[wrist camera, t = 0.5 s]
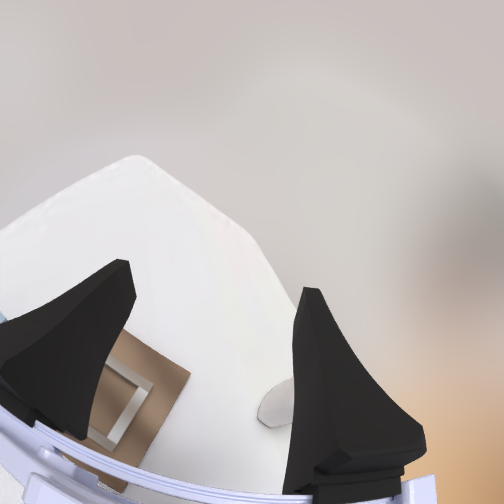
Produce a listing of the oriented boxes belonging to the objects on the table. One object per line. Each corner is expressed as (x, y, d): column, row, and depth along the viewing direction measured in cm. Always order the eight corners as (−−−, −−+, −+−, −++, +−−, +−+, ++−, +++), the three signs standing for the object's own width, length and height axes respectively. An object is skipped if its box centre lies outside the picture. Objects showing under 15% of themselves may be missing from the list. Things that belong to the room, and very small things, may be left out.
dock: (121, 491, 15) (120, 496, 14) (12, 407, 15) (3, 402, 13) (189, 375, 26) (194, 369, 25) (89, 306, 26) (87, 295, 24)
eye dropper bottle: (302, 412, 28) (376, 384, 20) (262, 431, 25) (333, 415, 17) (287, 380, 30) (354, 341, 22) (246, 397, 27) (307, 364, 19)
